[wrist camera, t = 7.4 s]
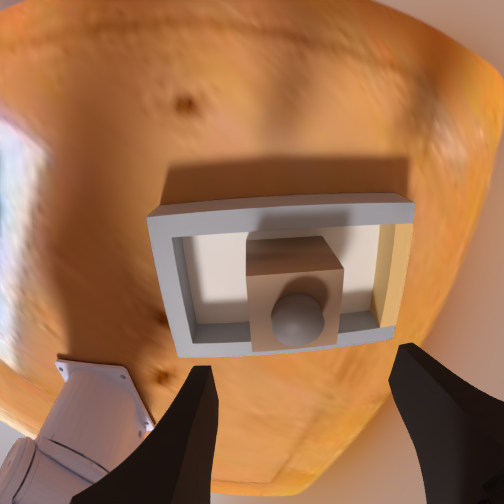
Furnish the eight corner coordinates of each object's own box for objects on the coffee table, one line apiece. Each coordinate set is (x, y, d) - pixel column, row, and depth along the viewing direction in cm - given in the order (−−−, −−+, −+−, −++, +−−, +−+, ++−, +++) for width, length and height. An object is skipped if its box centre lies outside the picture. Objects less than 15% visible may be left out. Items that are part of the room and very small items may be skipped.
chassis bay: (379, 318, 20) (392, 339, 18) (184, 334, 20) (178, 357, 18) (395, 192, 17) (415, 202, 14) (159, 205, 17) (146, 217, 14)
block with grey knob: (319, 300, 19) (341, 356, 14) (251, 305, 19) (252, 365, 14) (321, 235, 17) (351, 279, 12) (245, 240, 17) (245, 287, 12)
